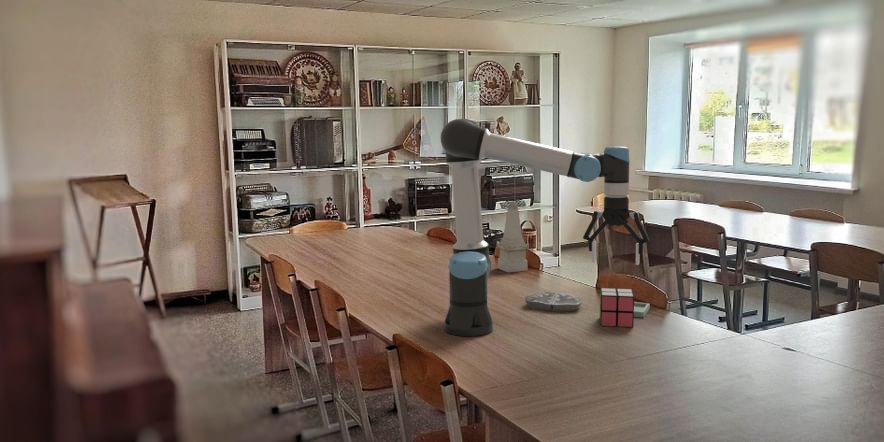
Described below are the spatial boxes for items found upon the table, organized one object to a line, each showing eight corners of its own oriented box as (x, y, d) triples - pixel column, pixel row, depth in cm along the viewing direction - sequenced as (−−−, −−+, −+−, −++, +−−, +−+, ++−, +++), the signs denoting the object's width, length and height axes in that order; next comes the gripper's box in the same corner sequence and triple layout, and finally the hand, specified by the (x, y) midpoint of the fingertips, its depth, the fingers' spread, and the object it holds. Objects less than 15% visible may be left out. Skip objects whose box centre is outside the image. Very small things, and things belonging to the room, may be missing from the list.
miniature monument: (529, 270, 300) (529, 201, 296) (507, 272, 296) (507, 203, 292) (517, 266, 310) (518, 199, 306) (496, 268, 306) (496, 200, 302)
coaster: (643, 317, 226) (643, 312, 226) (606, 313, 231) (606, 308, 231) (649, 308, 237) (649, 303, 237) (614, 305, 242) (614, 300, 242)
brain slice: (584, 302, 248) (584, 294, 247) (580, 314, 231) (580, 306, 231) (529, 298, 253) (529, 291, 252) (522, 311, 237) (522, 302, 236)
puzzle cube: (633, 328, 215) (634, 296, 214) (600, 326, 217) (601, 295, 216) (631, 319, 225) (632, 289, 224) (599, 317, 227) (600, 287, 226)
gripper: (659, 195, 215) (658, 263, 218) (579, 194, 225) (579, 258, 228) (656, 198, 208) (654, 267, 211) (573, 196, 218) (573, 262, 221)
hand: (615, 262), depth 220 cm, fingers open, 13 cm apart
